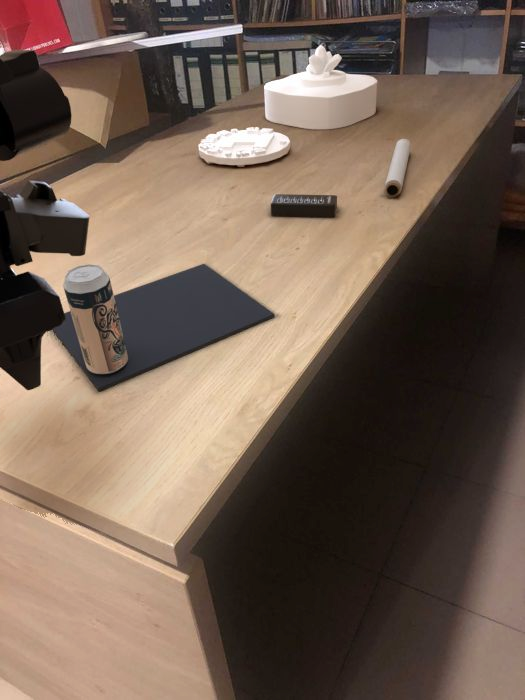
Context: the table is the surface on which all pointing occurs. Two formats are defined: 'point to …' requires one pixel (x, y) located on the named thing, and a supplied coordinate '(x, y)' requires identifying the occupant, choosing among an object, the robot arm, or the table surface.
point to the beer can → (95, 318)
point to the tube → (398, 168)
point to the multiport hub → (304, 205)
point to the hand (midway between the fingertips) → (17, 360)
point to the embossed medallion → (243, 146)
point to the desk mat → (171, 321)
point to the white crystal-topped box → (321, 96)
